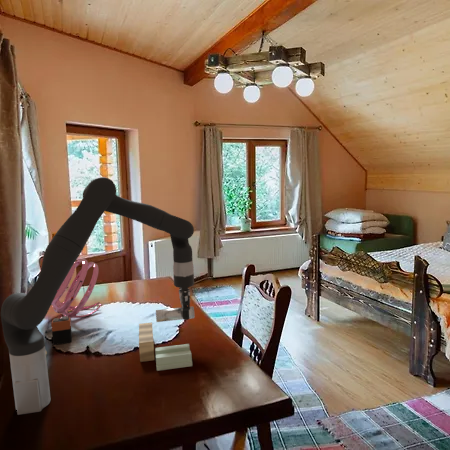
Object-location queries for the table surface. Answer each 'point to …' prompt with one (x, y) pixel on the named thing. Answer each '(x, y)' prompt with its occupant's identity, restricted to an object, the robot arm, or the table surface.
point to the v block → (173, 357)
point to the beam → (146, 342)
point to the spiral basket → (76, 291)
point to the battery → (61, 330)
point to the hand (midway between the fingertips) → (185, 316)
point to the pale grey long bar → (172, 314)
